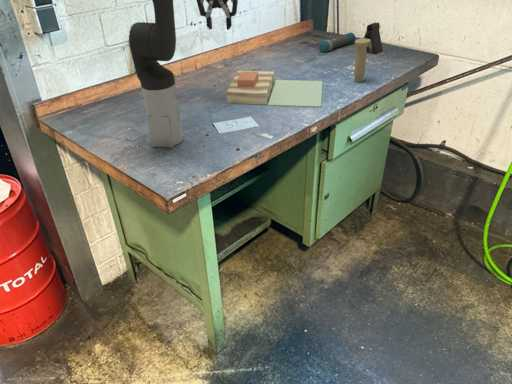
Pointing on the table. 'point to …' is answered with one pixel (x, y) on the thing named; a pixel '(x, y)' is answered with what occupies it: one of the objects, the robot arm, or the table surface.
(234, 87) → the deck
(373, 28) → the phone stand
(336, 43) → the flashlight
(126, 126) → the table surface
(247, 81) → the salmon orange block
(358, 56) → the handle
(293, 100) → the mat
